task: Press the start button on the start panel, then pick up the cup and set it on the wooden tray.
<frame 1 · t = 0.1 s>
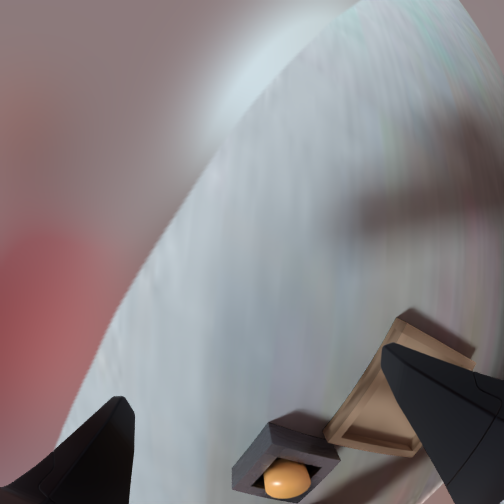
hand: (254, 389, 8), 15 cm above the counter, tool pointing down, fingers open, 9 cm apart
start panel: (281, 457, 25), on the counter
start button: (286, 478, 21), point 4 cm above the counter, slide at 0.0 cm
wooden tray: (404, 395, 25), on the counter
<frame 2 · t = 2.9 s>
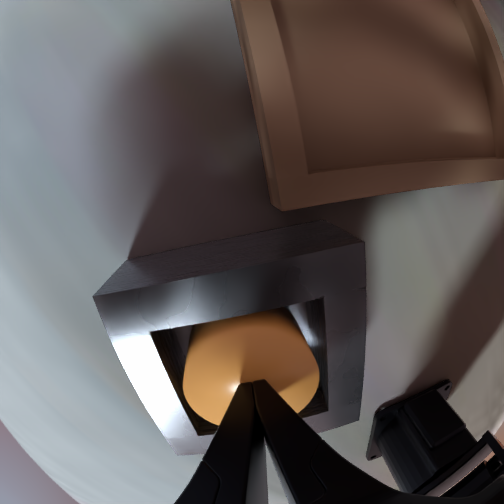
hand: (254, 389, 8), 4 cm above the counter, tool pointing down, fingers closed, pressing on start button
start panel: (243, 328, 12), on the counter
start button: (248, 366, 10), point 3 cm above the counter, slide at 1.0 cm, touching gripper
wooden tray: (390, 37, 9), on the counter
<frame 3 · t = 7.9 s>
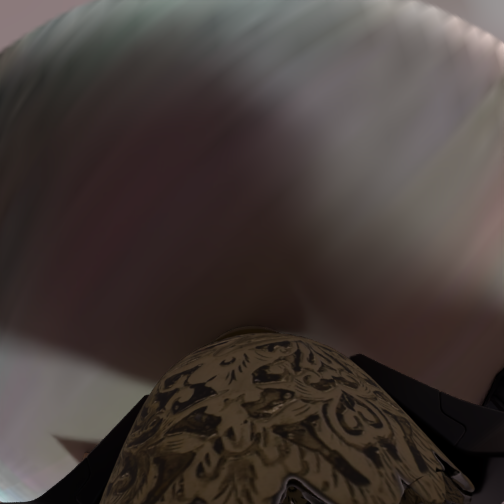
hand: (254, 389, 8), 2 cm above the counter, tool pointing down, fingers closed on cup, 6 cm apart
cup: (248, 357, 10), on the counter, touching gripper
when the fingers open (4 cm above the counter, at t = 12.5 s): cup drops 1 cm, resting on wooden tray.
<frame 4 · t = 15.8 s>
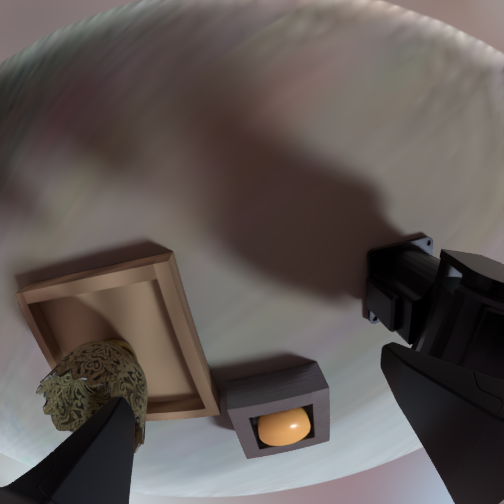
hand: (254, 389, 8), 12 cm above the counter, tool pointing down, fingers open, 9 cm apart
start panel: (277, 402, 24), on the counter
start button: (282, 421, 22), point 3 cm above the counter, slide at 1.0 cm
cup: (119, 351, 20), resting on wooden tray
wooden tray: (119, 348, 21), on the counter
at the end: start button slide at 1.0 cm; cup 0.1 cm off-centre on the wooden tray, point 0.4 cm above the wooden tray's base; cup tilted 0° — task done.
